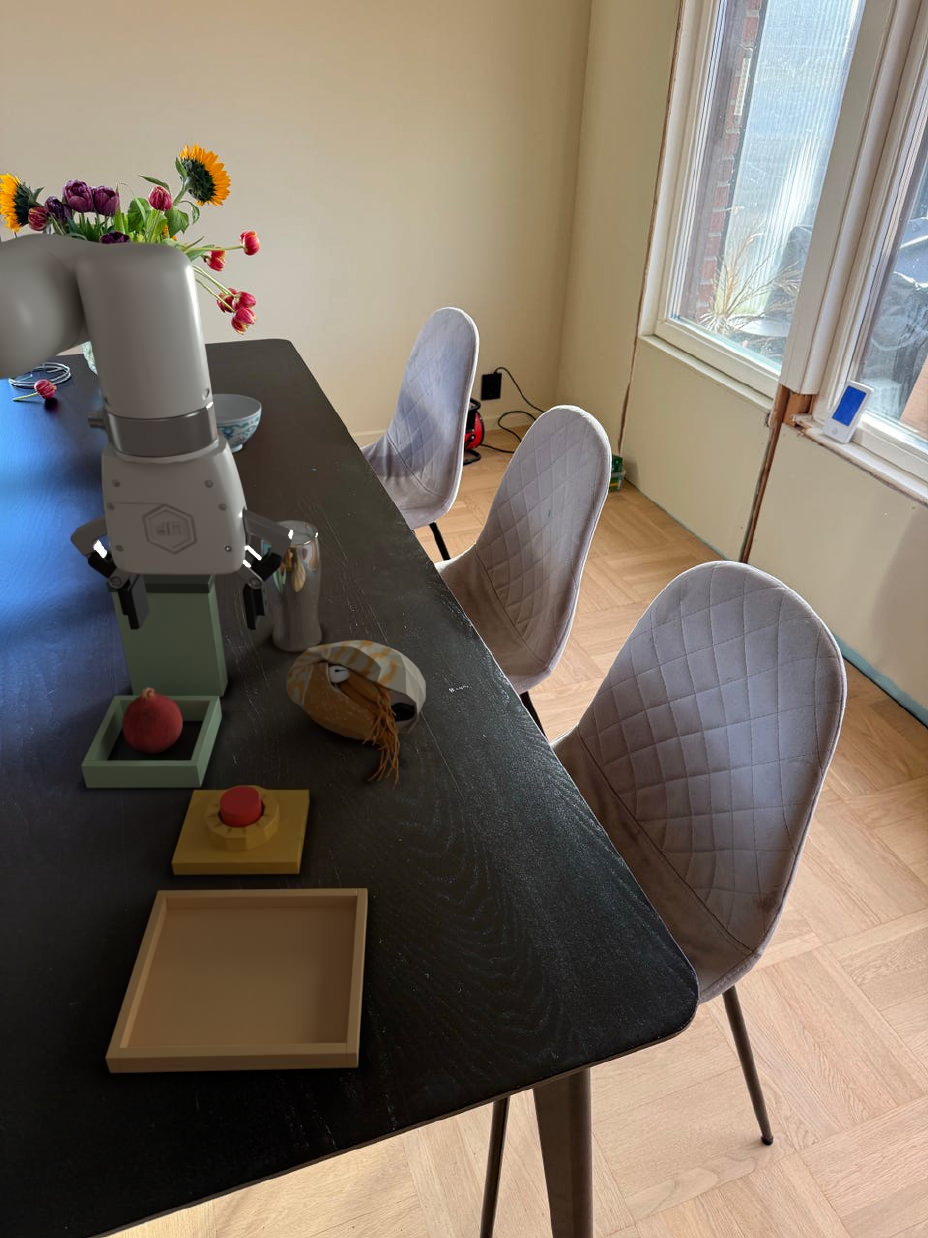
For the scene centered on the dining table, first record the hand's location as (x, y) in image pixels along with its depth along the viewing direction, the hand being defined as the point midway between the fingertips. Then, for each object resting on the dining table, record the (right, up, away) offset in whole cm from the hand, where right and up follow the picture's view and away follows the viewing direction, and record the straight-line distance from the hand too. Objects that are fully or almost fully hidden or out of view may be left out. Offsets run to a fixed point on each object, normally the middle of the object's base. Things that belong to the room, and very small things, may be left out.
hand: (198, 621), depth 72 cm
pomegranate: (-10, -14, +17) cm, 24 cm away
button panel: (+2, -20, +8) cm, 22 cm away
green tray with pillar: (-10, -12, +20) cm, 25 cm away
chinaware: (-22, +32, +87) cm, 95 cm away
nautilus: (+11, -12, +21) cm, 27 cm away
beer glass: (+1, -2, +36) cm, 36 cm away
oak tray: (+6, -28, -5) cm, 29 cm away
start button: (+2, -18, +6) cm, 19 cm away
